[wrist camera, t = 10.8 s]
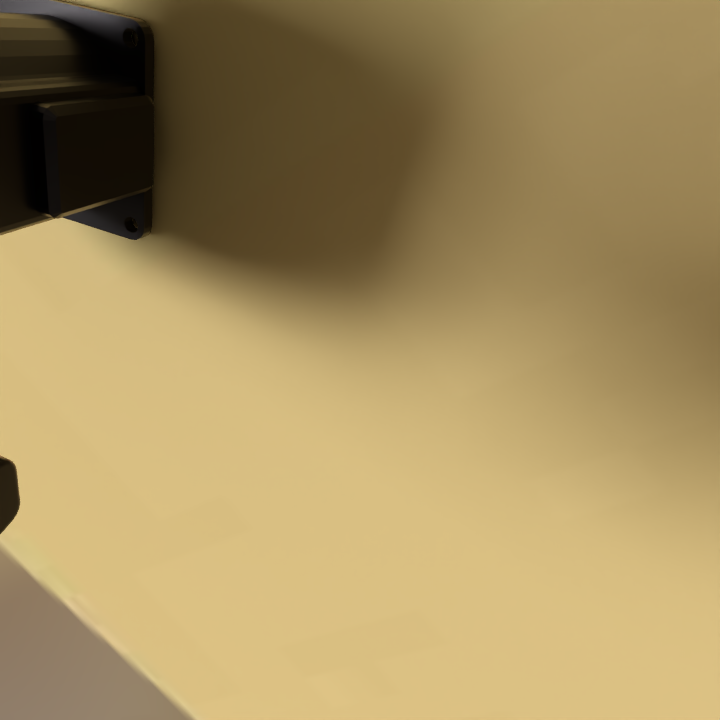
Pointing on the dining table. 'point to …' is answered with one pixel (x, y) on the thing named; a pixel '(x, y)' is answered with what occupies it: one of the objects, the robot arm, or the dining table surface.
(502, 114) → the dining table surface
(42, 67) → the robot arm
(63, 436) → the dining table surface
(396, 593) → the dining table surface
